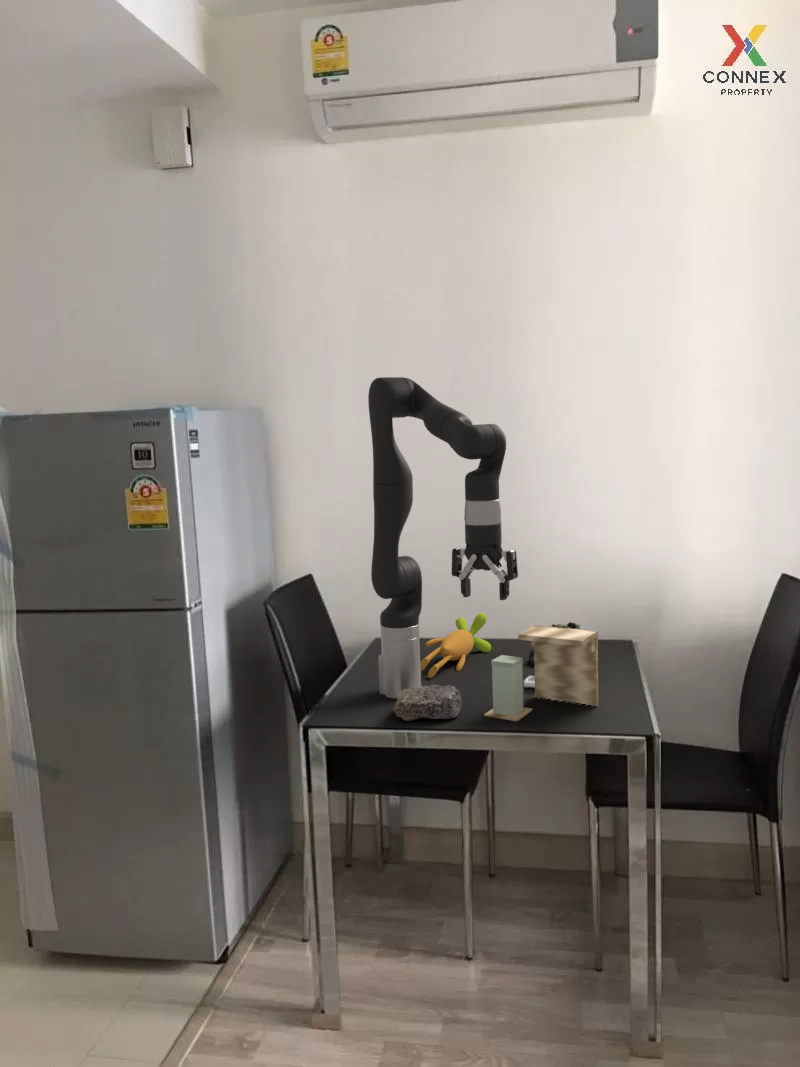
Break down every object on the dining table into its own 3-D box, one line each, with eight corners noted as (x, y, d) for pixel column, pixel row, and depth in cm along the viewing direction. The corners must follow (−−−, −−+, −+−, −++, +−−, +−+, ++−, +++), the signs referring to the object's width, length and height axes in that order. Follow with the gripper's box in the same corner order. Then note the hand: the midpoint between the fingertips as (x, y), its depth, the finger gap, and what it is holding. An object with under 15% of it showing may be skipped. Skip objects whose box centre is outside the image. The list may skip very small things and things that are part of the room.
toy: (433, 707, 233) (483, 662, 258) (457, 669, 226) (506, 627, 251) (395, 676, 237) (448, 635, 261) (418, 637, 230) (470, 599, 254)
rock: (464, 707, 208) (400, 708, 211) (462, 680, 207) (398, 680, 210) (457, 724, 195) (389, 725, 198) (456, 695, 195) (387, 696, 198)
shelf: (519, 708, 205) (518, 634, 202) (536, 696, 213) (535, 625, 210) (583, 718, 197) (582, 640, 194) (598, 705, 205) (597, 631, 202)
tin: (492, 713, 201) (491, 660, 199) (502, 706, 205) (501, 655, 204) (514, 716, 198) (512, 663, 197) (523, 709, 202) (522, 657, 201)
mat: (484, 716, 201) (484, 714, 200) (499, 705, 207) (499, 703, 207) (517, 721, 196) (517, 719, 196) (532, 710, 203) (532, 708, 203)
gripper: (522, 520, 187) (523, 597, 189) (461, 518, 194) (463, 592, 197) (506, 524, 181) (508, 604, 183) (444, 522, 188) (446, 599, 190)
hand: (484, 598), depth 190 cm, fingers open, 8 cm apart
